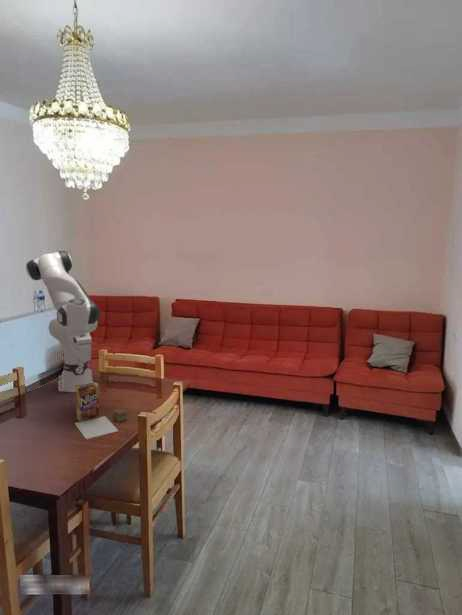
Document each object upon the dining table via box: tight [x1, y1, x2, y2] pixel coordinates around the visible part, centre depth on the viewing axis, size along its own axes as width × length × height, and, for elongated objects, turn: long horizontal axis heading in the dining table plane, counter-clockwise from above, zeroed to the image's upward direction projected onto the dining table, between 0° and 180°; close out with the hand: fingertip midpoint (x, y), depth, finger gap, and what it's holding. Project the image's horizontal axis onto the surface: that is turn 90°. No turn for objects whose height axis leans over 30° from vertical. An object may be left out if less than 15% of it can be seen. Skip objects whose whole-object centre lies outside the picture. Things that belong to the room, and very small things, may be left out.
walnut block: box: [112, 408, 127, 423], centre depth 187 cm, size 4×4×4 cm
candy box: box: [75, 381, 100, 422], centre depth 187 cm, size 9×4×15 cm, turn 123°
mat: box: [74, 415, 119, 440], centre depth 179 cm, size 17×13×1 cm
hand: (81, 366), depth 191 cm, fingers closed
